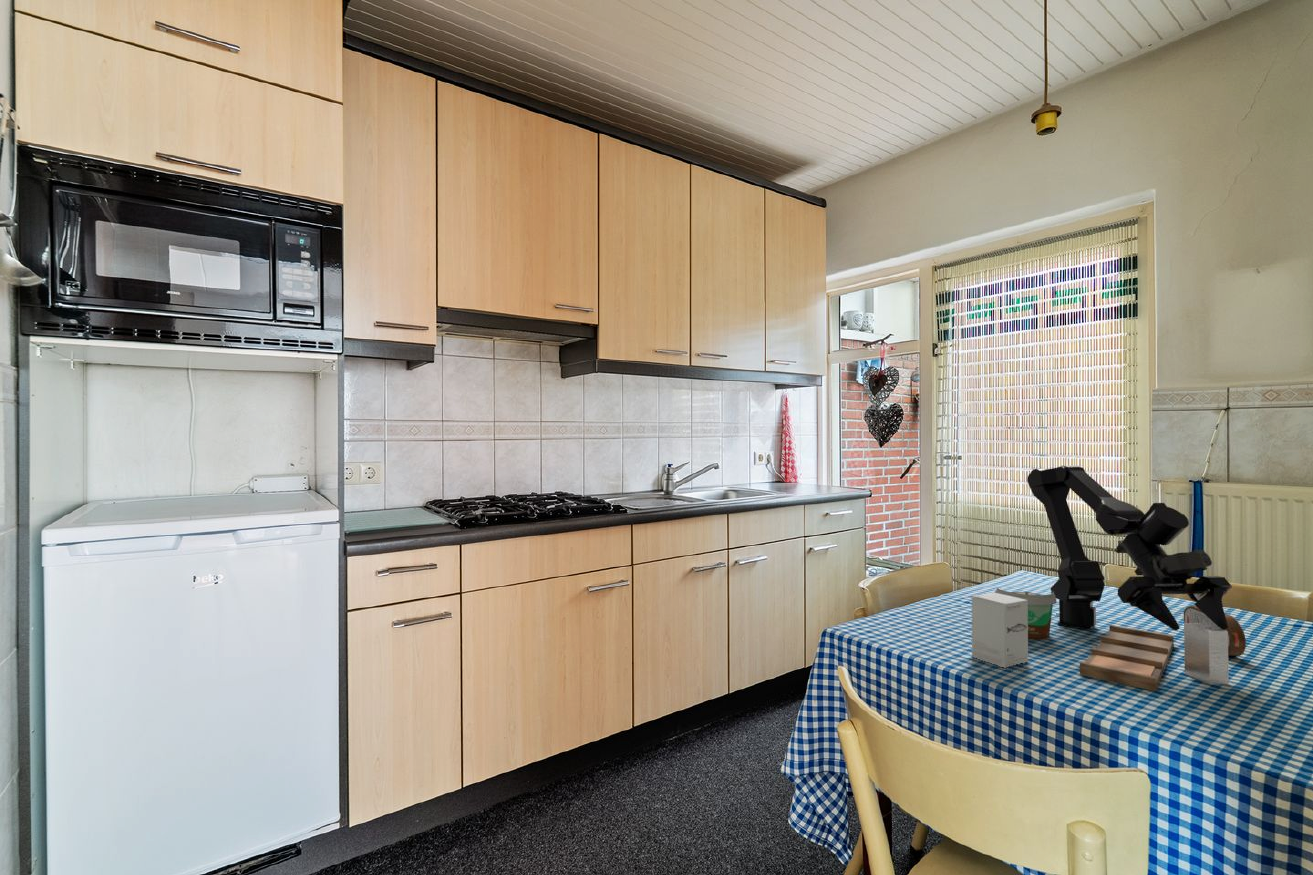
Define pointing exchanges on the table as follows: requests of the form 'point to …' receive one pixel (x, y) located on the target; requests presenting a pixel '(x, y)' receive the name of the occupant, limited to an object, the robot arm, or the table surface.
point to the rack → (1129, 657)
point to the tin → (1234, 628)
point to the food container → (1036, 612)
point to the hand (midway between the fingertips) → (1201, 629)
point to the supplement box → (1000, 629)
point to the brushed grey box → (1206, 653)
